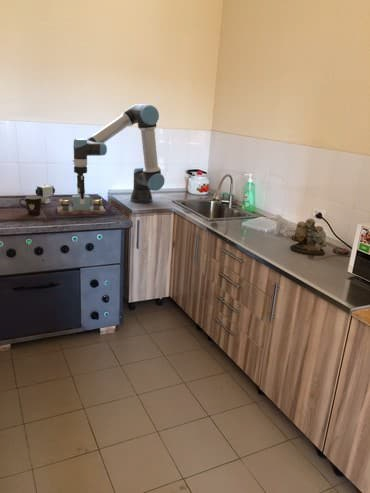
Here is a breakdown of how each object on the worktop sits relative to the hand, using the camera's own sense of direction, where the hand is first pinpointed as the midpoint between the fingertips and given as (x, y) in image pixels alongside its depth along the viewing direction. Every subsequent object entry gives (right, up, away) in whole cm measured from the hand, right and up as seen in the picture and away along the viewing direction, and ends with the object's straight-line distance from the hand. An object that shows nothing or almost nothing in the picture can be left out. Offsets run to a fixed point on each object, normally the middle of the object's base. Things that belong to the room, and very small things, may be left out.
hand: (80, 201), depth 255 cm
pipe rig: (0, -4, +1) cm, 5 cm away
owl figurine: (+124, -30, -42) cm, 134 cm away
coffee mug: (-26, -9, -11) cm, 29 cm away
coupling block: (0, -4, +2) cm, 5 cm away
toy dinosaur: (+118, -21, -18) cm, 122 cm away
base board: (0, -6, +2) cm, 6 cm away
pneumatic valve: (-27, +1, +16) cm, 31 cm away
